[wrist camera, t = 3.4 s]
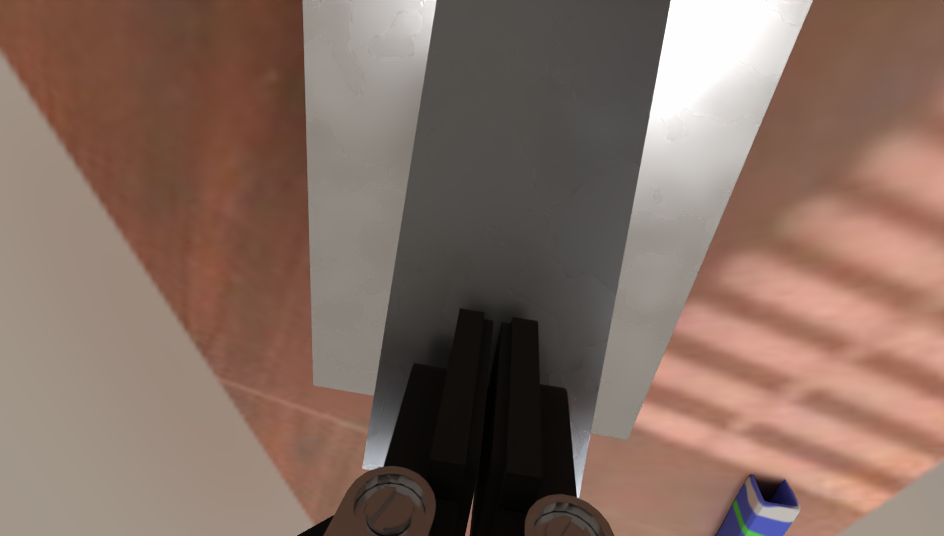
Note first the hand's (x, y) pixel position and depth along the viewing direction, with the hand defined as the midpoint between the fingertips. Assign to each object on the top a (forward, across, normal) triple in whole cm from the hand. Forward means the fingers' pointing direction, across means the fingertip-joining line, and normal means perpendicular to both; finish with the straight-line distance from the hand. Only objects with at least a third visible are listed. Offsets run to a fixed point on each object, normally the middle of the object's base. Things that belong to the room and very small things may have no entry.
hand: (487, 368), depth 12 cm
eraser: (+10, -15, +15) cm, 24 cm away
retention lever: (+4, 0, -4) cm, 5 cm away
